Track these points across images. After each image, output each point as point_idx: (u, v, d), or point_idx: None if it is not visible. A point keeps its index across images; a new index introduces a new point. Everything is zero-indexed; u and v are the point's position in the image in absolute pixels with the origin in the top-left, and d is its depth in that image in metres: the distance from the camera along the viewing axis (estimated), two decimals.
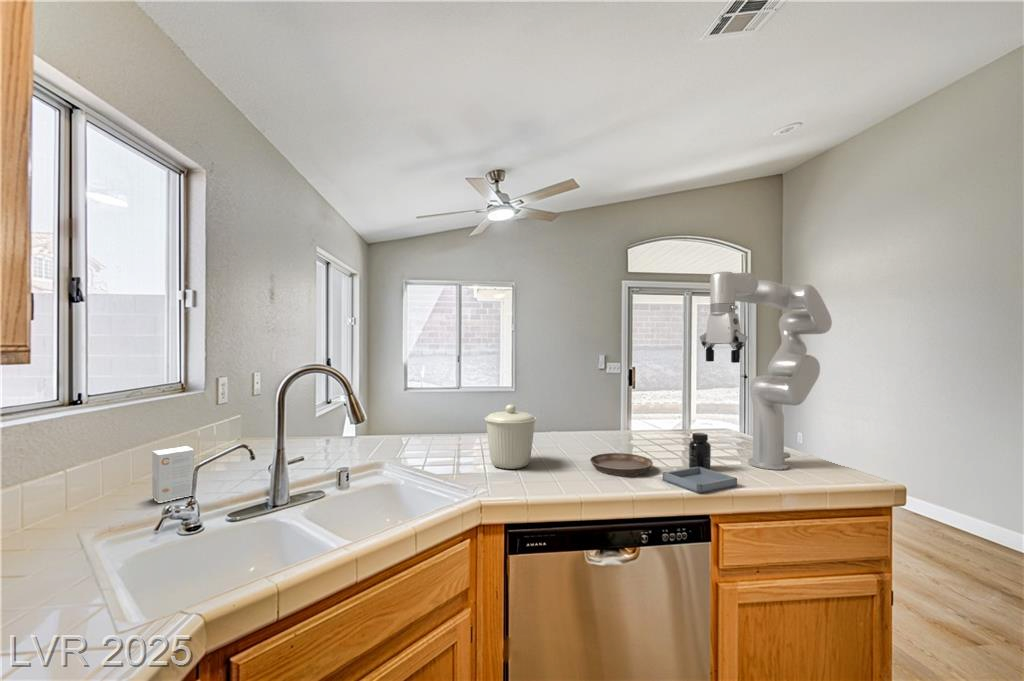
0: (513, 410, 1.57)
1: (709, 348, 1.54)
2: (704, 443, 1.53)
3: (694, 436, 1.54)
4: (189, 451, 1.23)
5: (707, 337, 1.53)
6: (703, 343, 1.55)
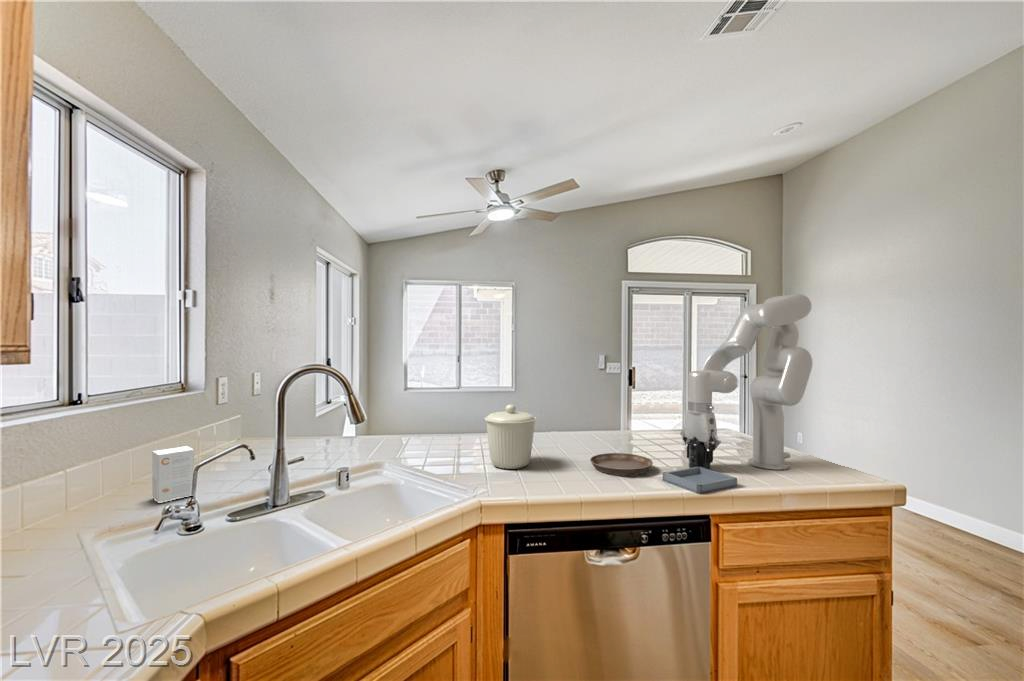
0: (513, 410, 1.57)
1: None
2: None
3: None
4: (189, 451, 1.23)
5: (685, 432, 1.58)
6: (684, 439, 1.60)
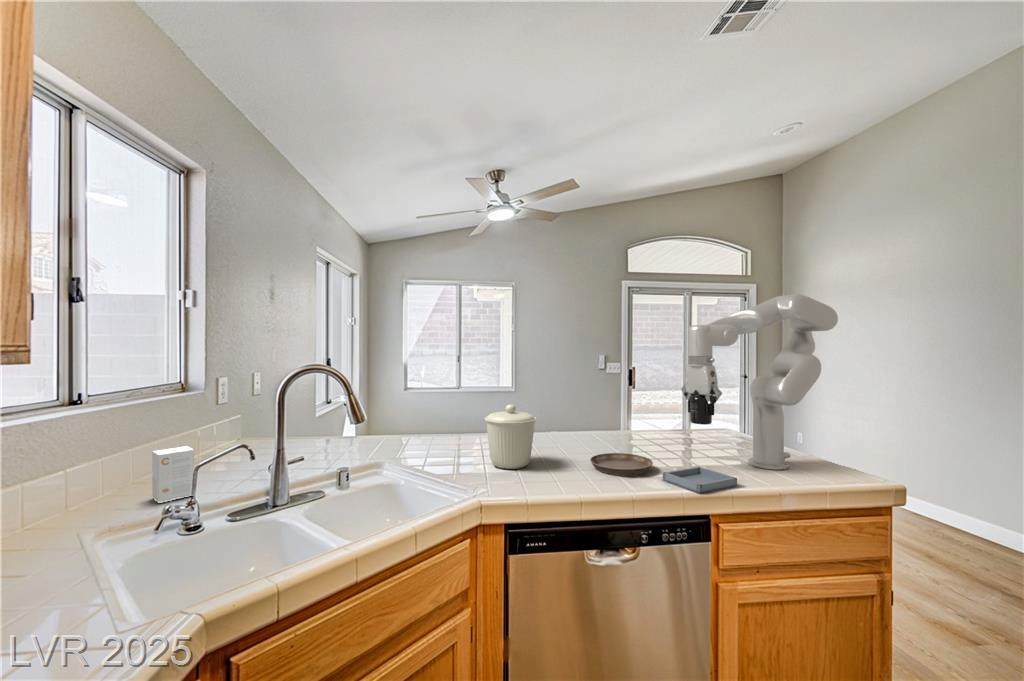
0: (513, 410, 1.57)
1: None
2: None
3: (695, 390, 1.54)
4: (189, 451, 1.23)
5: (686, 387, 1.58)
6: (685, 394, 1.60)
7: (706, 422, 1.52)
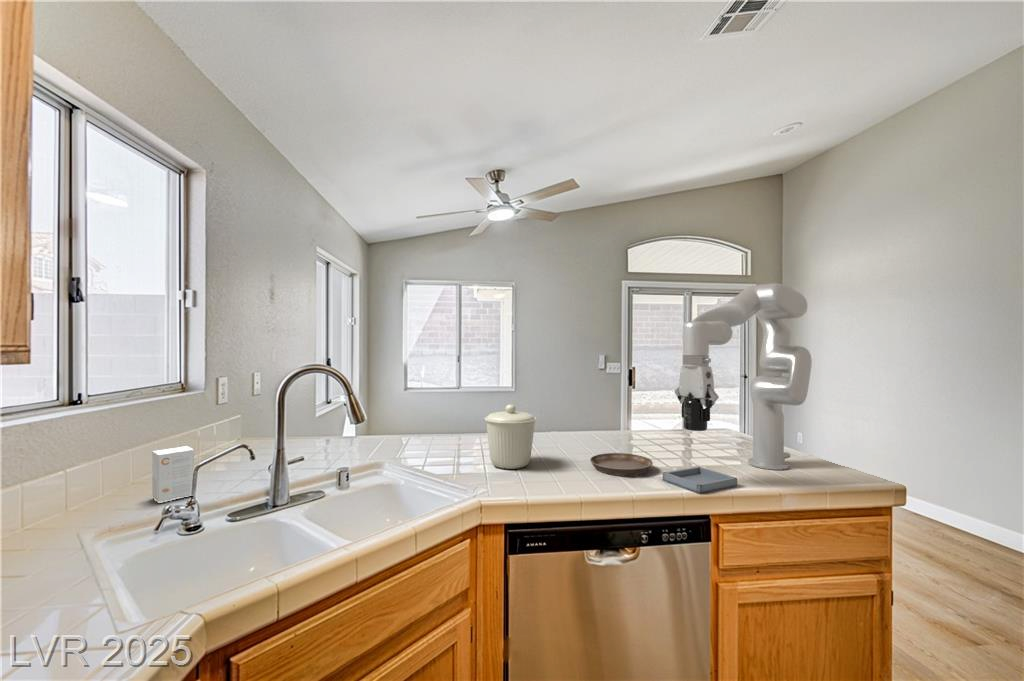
0: (513, 410, 1.57)
1: None
2: None
3: None
4: (189, 451, 1.23)
5: (680, 389, 1.44)
6: (679, 397, 1.46)
7: (701, 428, 1.37)
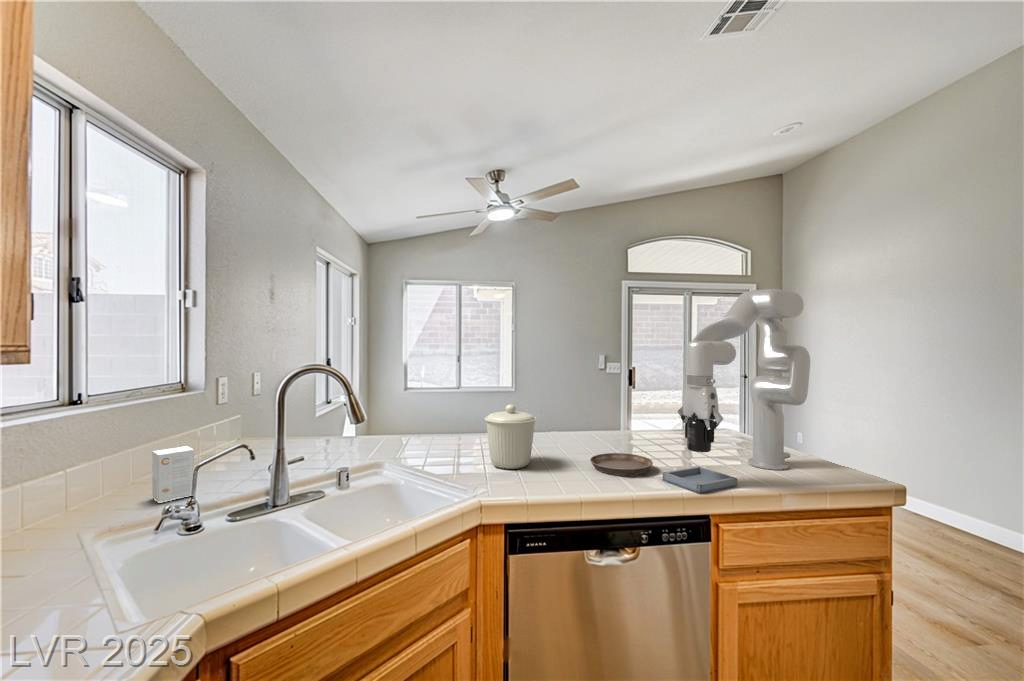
0: (513, 410, 1.57)
1: None
2: None
3: None
4: (189, 451, 1.23)
5: (683, 409, 1.42)
6: (682, 417, 1.44)
7: (705, 450, 1.36)
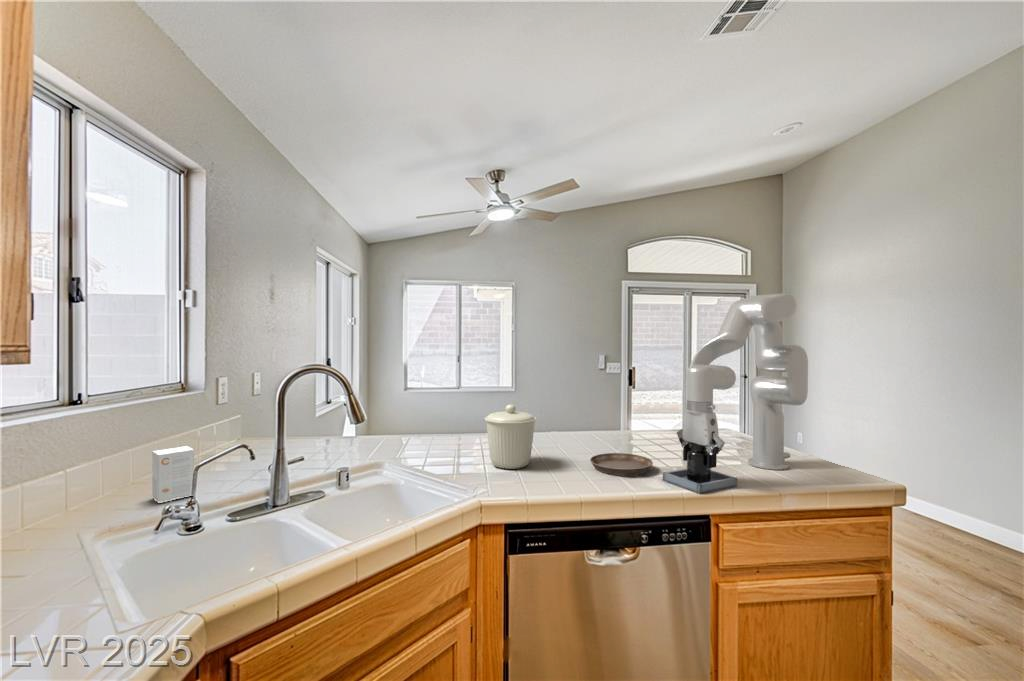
0: (513, 410, 1.57)
1: (687, 446, 1.43)
2: (703, 452, 1.37)
3: (692, 444, 1.39)
4: (189, 451, 1.23)
5: (683, 434, 1.42)
6: (680, 440, 1.45)
7: (705, 481, 1.36)
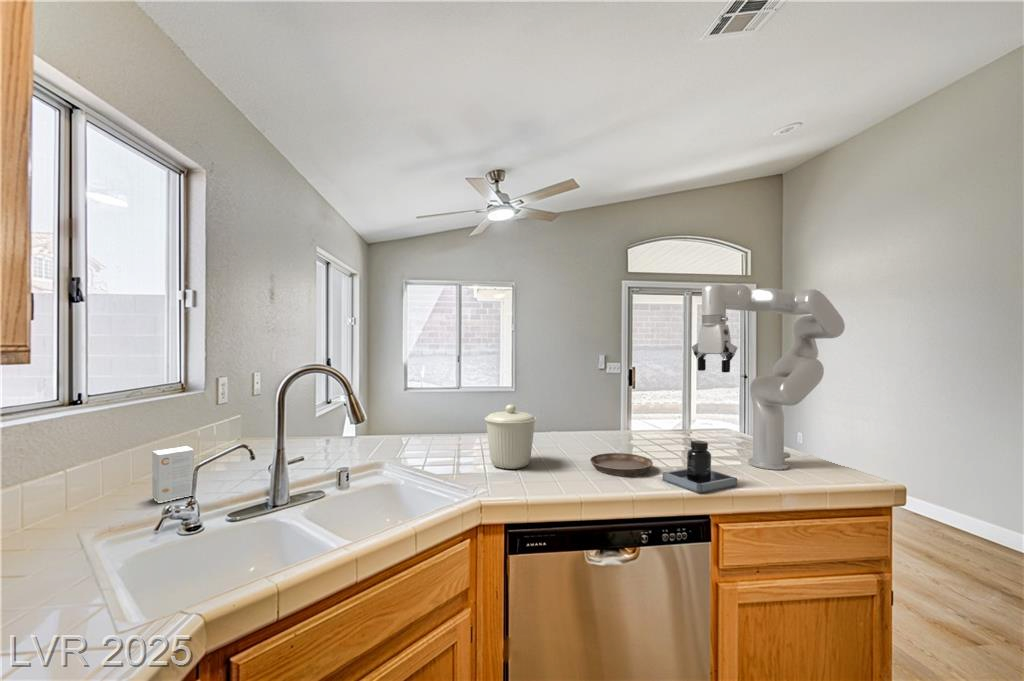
0: (513, 410, 1.57)
1: (701, 358, 1.59)
2: (704, 452, 1.37)
3: (693, 444, 1.39)
4: (189, 451, 1.23)
5: (699, 347, 1.58)
6: (695, 353, 1.61)
7: (705, 481, 1.36)
